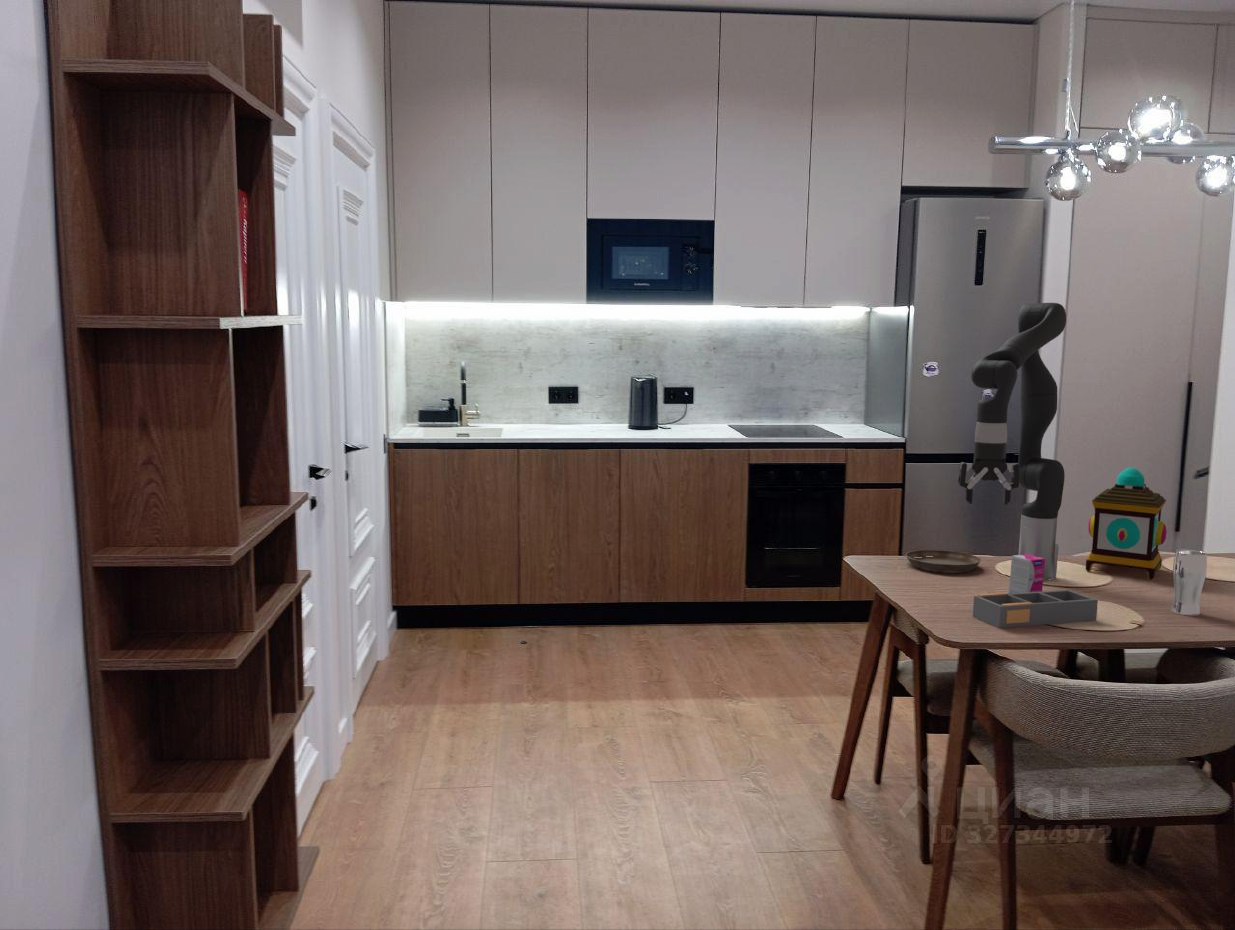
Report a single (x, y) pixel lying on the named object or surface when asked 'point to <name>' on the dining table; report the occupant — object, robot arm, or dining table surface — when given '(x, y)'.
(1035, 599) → the rack
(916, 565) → the plant saucer
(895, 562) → the dining table surface
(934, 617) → the dining table surface
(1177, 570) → the beer glass
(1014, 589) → the supplement box
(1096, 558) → the decorative lantern
